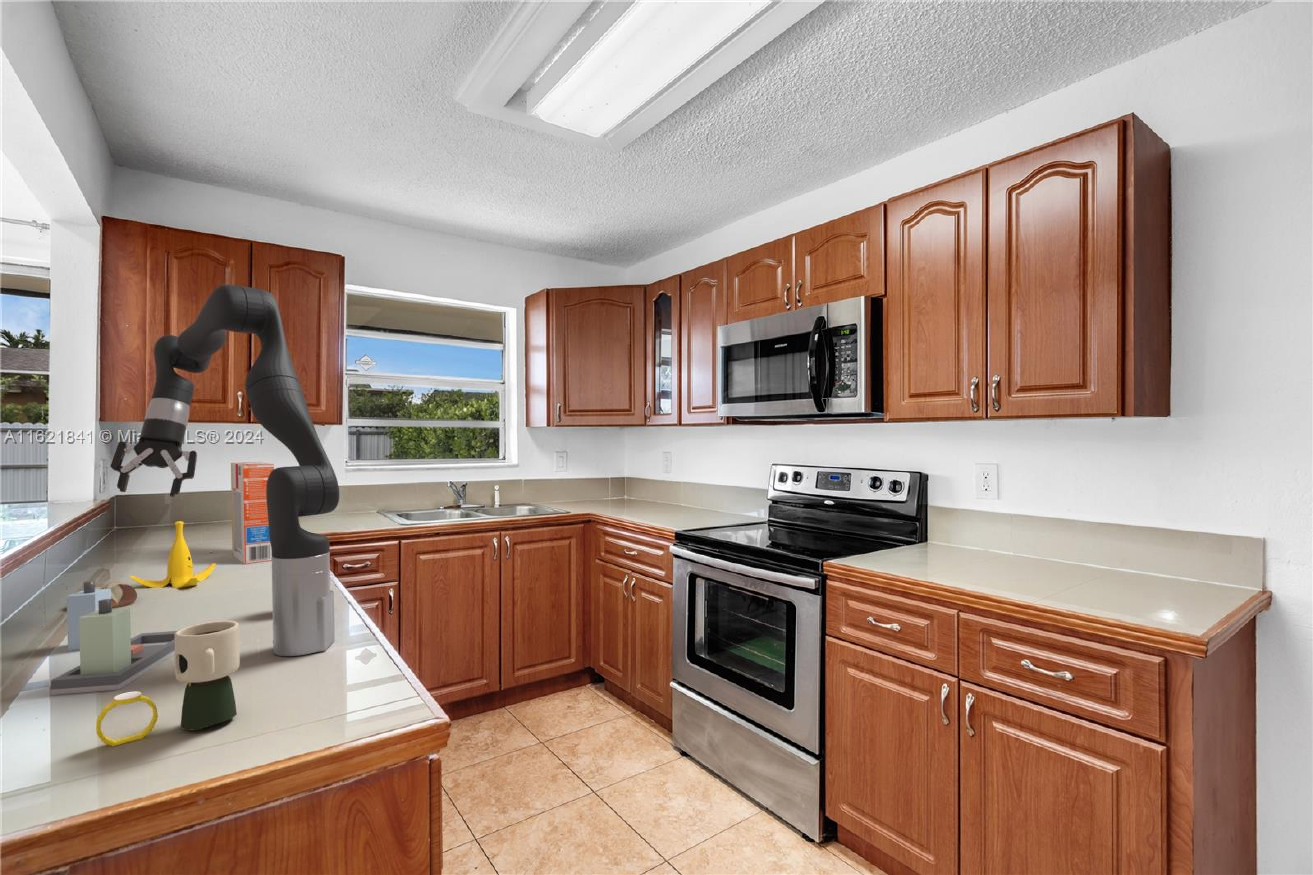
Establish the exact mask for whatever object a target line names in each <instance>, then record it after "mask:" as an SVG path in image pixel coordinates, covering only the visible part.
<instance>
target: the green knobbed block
mask: <svg viewBox="0 0 1313 875" xmlns="http://www.w3.org/2000/svg"><path fill="white" fill-rule="evenodd" d="M98 607H99V610H97V611H94V612H92V613H89V614H87V615H85V616H82V617H80V618H79V629H80V650H79V664H80V665H79V666H80V675H82V674H95V673H109V672H119V671H121V670H122V669H124V668H126V667H128V666H129V665H131V639H132V637H131V607H126V608H125V607H124V608H123V607H122V608H121V607H120V608H112V599H104V600H100V601H98Z"/></svg>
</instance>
